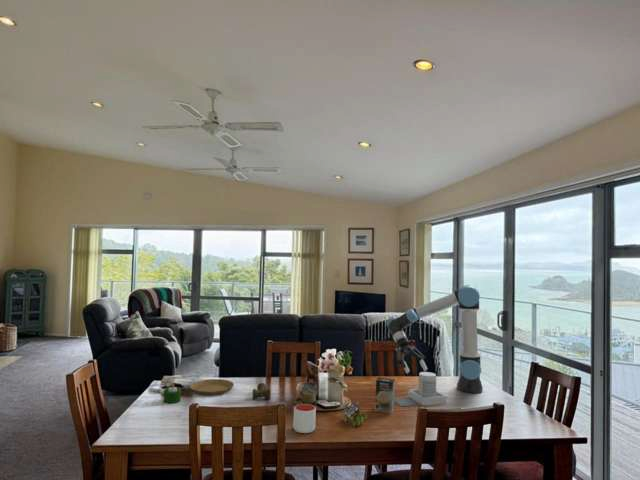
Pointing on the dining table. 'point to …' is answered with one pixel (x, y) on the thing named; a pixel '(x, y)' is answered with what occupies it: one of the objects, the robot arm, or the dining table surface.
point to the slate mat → (405, 402)
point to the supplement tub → (427, 384)
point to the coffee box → (384, 395)
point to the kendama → (261, 392)
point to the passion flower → (352, 410)
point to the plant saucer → (212, 387)
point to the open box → (427, 398)
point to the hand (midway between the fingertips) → (417, 371)
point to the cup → (304, 418)
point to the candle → (172, 395)
